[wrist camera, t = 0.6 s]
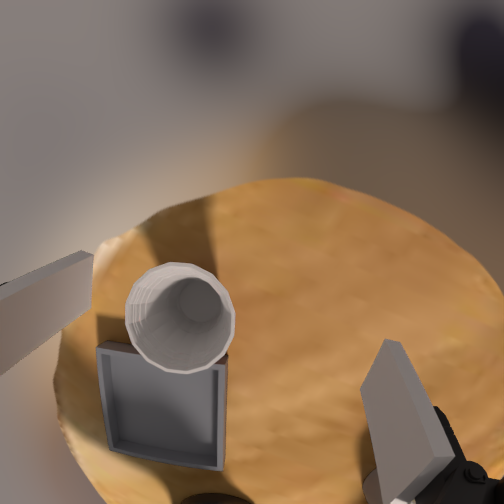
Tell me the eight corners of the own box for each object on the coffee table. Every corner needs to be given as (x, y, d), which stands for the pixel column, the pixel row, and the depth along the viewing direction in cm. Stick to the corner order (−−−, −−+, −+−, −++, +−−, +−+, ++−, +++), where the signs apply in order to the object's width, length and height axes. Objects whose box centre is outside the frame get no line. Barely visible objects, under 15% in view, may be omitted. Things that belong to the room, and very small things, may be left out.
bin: (225, 457, 40) (222, 471, 37) (117, 439, 41) (109, 450, 37) (228, 355, 40) (225, 364, 37) (107, 340, 41) (95, 347, 37)
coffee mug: (381, 504, 40) (396, 538, 30) (351, 486, 40) (365, 524, 30) (438, 458, 39) (462, 487, 29) (413, 436, 39) (438, 468, 29)
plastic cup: (260, 293, 40) (259, 311, 28) (210, 356, 40) (191, 395, 28) (192, 240, 40) (164, 237, 28) (146, 305, 40) (105, 325, 28)
